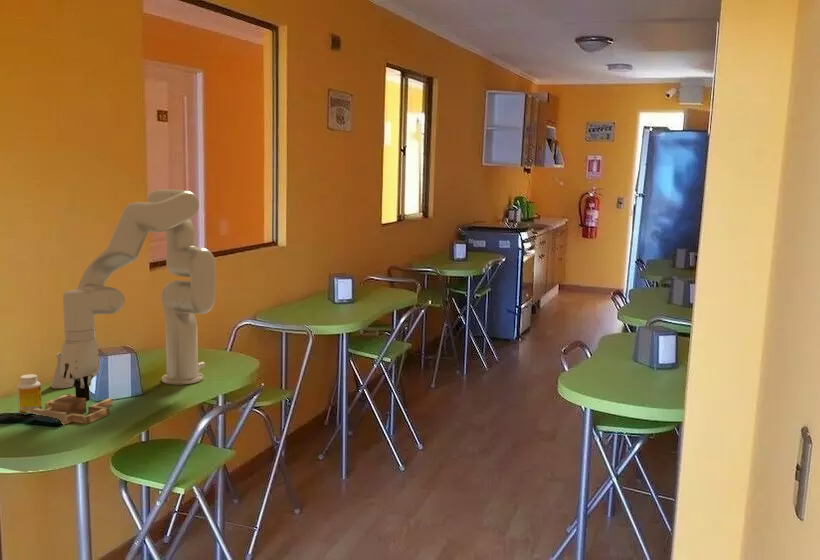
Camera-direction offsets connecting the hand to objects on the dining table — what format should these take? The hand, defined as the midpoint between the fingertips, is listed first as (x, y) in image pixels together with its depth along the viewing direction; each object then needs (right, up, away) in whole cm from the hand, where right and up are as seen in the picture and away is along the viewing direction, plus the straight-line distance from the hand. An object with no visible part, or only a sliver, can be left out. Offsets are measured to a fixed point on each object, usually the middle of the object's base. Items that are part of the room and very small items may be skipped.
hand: (82, 400), depth 202 cm
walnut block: (-2, -3, -5) cm, 6 cm away
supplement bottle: (-12, -3, -4) cm, 13 cm away
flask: (-16, +1, +22) cm, 27 cm away
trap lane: (-1, -3, -3) cm, 4 cm away
